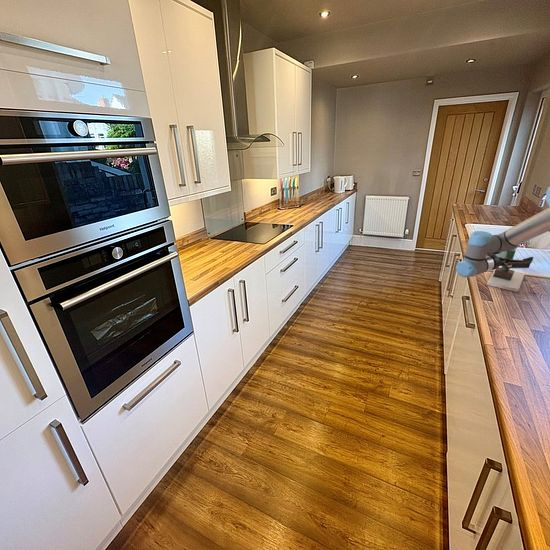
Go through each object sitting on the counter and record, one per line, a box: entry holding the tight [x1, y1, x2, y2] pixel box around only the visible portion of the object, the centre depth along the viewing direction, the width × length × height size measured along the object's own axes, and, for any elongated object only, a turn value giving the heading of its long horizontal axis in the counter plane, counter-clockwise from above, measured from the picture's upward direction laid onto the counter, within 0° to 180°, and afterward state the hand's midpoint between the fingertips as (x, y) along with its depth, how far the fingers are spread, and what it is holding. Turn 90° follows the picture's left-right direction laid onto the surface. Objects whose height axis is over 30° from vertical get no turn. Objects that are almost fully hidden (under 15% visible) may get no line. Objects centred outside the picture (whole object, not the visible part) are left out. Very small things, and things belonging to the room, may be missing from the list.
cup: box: [495, 248, 517, 258], centre depth 158 cm, size 8×8×10 cm
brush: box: [493, 249, 517, 281], centre depth 138 cm, size 7×5×14 cm
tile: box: [486, 269, 526, 293], centre depth 141 cm, size 12×22×2 cm, turn 137°
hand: (515, 254), depth 138 cm, fingers open, 13 cm apart
